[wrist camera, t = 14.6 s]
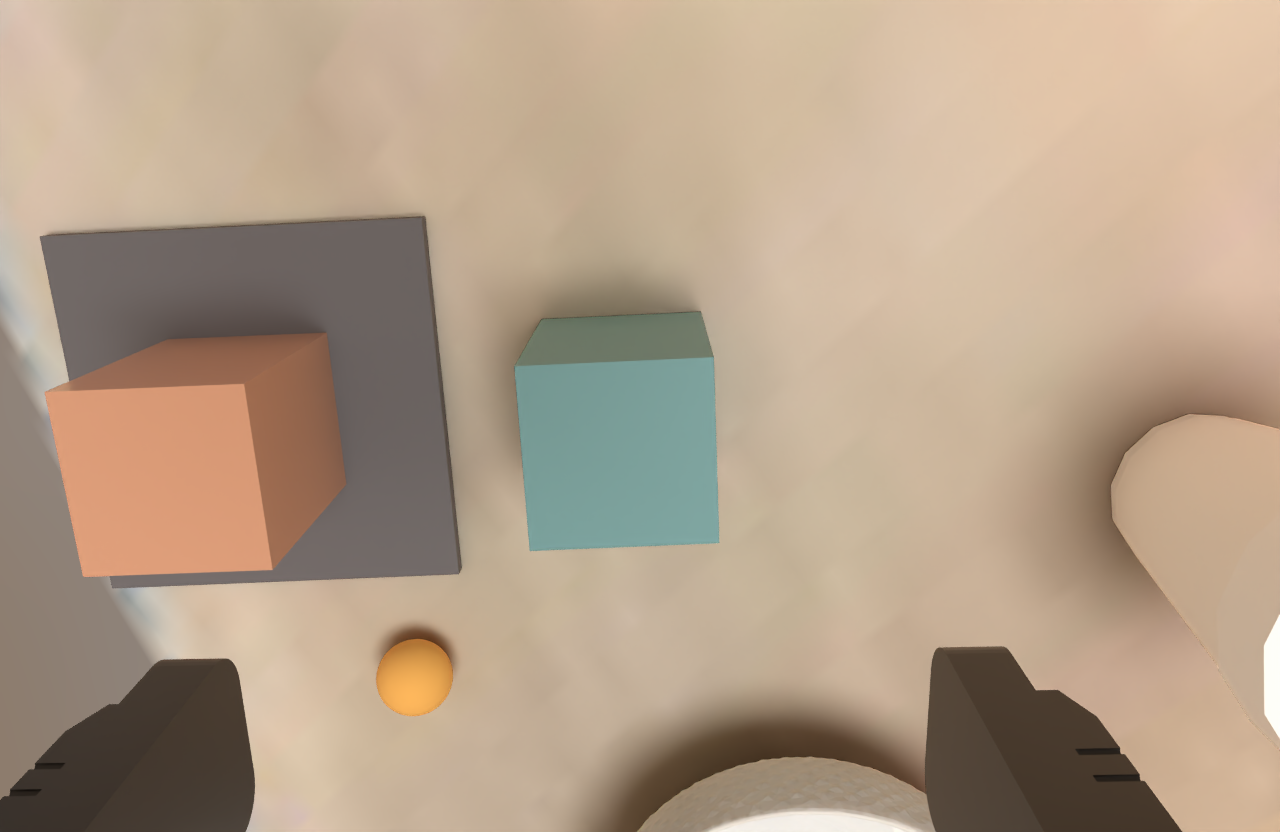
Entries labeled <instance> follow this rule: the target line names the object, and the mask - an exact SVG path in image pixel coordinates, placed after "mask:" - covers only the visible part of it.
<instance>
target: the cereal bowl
mask: <svg viewBox="0 0 1280 832" xmlns="http://www.w3.org/2000/svg"><path fill="white" fill-rule="evenodd" d="M637 832H936V831H935V828H934V826H933V823H932V819H931V816H930V811H929V807H928V801H927V795H926V794H925V793H924V792H921V791H919V790H917V789H916V788H915V787H913V786H912V785H910V784H907V783H906V782H904V781H900V780H898V779H897V778H895V777H893V776H892V775H889V774H885V773H882V772H880V771H879V770H876V769H872V768H870V767H865V766H861V765H858V764H855V763H850V762H847V761H839V760H836V759H826V758H815V757H811V756H810V757H805V758H802V757H793V758H790V757H783V758H780V759H769V760H760V761H758V762H754V763H747V764H745V765H738V766H736V767H734V768H732V769H727V770H724V771H722V772H720V773H715V774H714V775H712V776H711V777H708V778H705V779H703V780H701V781H699V782H695V783H694V784H693V785H692V786H691V787H689V788H688V789H685V790H682V791H681V792H680V793H679V794H678V795H676V796H674V797H673V798H672V799H671V800H669V801H668V802H666V803H664V804H663V806H662V807H660V808H659V809H658V810H657V812H655V813H654V814H652V815H650V817H649V819H647V820H646V821H645V822H644V824H643V825H642V826H641V828H640V829H639V830H638V831H637Z"/></svg>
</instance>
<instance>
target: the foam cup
mask: <svg viewBox="0 0 1280 832" xmlns="http://www.w3.org/2000/svg"><path fill="white" fill-rule="evenodd" d="M1111 505H1112V520H1113V521H1114V523H1115V525H1116V526H1117V528H1118V529H1119V531H1120V533H1121V534H1122V536H1123V537H1124V539H1125V540H1126V542H1127V544H1128V545H1129V547H1130V548H1131V549H1132V551H1133V553H1134V554H1135V556H1136V557H1137V558H1138V560H1139V561H1140V562H1141V564H1142V565H1143V566H1144V568H1145V569H1146V570H1147V572H1148V573H1149V574H1150V576H1151V577H1152V578H1153V580H1154V581H1155V582H1156V584H1157V585H1158V587H1159V588H1160V589H1161V591H1162V592H1163V593H1164V595H1165V596H1166V597H1167V599H1168V600H1169V601H1170V603H1171V604H1172V605H1173V607H1174V608H1175V609H1176V611H1177V612H1178V613H1179V615H1180V616H1181V618H1182V619H1183V620H1184V622H1185V623H1186V624H1187V626H1188V627H1189V628H1190V630H1191V631H1192V632H1193V634H1194V635H1195V636H1196V638H1197V639H1198V640H1199V642H1200V643H1201V644H1202V646H1203V647H1204V649H1205V650H1206V651H1207V653H1208V654H1209V655H1210V657H1211V658H1212V659H1213V661H1214V662H1215V663H1216V665H1217V666H1218V671H1219V672H1220V674H1221V676H1222V677H1223V679H1224V680H1225V682H1226V684H1227V685H1228V687H1229V688H1230V690H1231V691H1232V693H1233V695H1234V696H1235V698H1236V699H1237V701H1238V703H1239V704H1240V706H1241V707H1242V709H1243V711H1244V712H1245V714H1246V715H1247V717H1248V719H1249V720H1250V722H1251V723H1252V724H1253V725H1254V726H1255V727H1256V728H1257V729H1258V730H1259V731H1260V732H1261V733H1262V734H1263V735H1264V736H1265V737H1267V738H1268V739H1269V740H1270V741H1271V742H1272V743H1273V744H1274V745H1275V746H1276V747H1277V748H1278V749H1279V750H1280V429H1277V428H1273V427H1269V426H1265V425H1261V424H1257V423H1254V422H1250V421H1246V420H1242V419H1238V418H1229V417H1227V416H1219V415H1200V414H1187V415H1185V416H1182V417H1179V418H1177V419H1174V420H1171V421H1169V422H1166V423H1163V424H1161V425H1158V426H1155V427H1153V428H1152V429H1151V430H1149V431H1148V432H1147V433H1146V434H1145V435H1144V436H1143V437H1142V438H1141V439H1140V440H1139V441H1138V442H1137V443H1136V444H1134V445H1133V446H1132V447H1131V448H1130V449H1129V450H1128V451H1127V452H1126V453H1125V454H1124V457H1123V459H1122V461H1121V463H1120V466H1119V468H1118V470H1117V473H1116V475H1115V477H1114V480H1113V482H1112V484H1111Z"/></svg>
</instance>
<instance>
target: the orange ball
mask: <svg viewBox="0 0 1280 832" xmlns="http://www.w3.org/2000/svg"><path fill="white" fill-rule="evenodd" d="M452 681H453V670H452V665H451V662H450V660H449V658H448V656H447V655H446V653H445V652H444V651H443V650H442V649H441V648H440V647H439V646H438V645H436V644H434V643H433V642H430V641H427V640H423V639H411V640H406V641H403V642H401V643H399V644H397V645H395V646H394V647H392V648H391V649H390V650H389V651H388V652H387V653H386V654H385V655H384V657H383V658H382V660H381V662H380V664H379V667H378V670H377V677H376V683H377V689H378V692H379V695H380V697H381V699H382V700H383V702H384V703H385V704H386V705H387V706H388V707H389V708H390V709H392V710H393V711H395V712H397V713H399V714H402V715H406V716H419V715H423V714H426V713H429V712H431V711H433V710H434V709H436V708H437V707H438V706H439V705H441V703H442V702H443V701H444V700H445V699H446V697H447V695H448V694H449V691H450V689H451V686H452Z"/></svg>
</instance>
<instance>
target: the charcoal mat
mask: <svg viewBox="0 0 1280 832" xmlns="http://www.w3.org/2000/svg"><path fill="white" fill-rule="evenodd" d="M40 240H41V245H42V250H43V255H44V260H45V264H46V269H47V274H48V279H49V284H50V289H51V294H52V298H53V303H54V308H55V313H56V318H57V323H58V327H59V332H60V337H61V342H62V347H63V352H64V357H65V361H66V366H67V371H68V376H69V381H71V380H74V379H76V378H78V377H81V376H83V375H85V374H88V373H90V372H92V371H95V370H97V369H99V368H102V367H104V366H106V365H109V364H111V363H113V362H116V361H118V360H120V359H123V358H125V357H127V356H130V355H132V354H134V353H137V352H139V351H141V350H144V349H146V348H148V347H151V346H153V345H155V344H158V343H160V342H162V341H165V340H167V339H185V338H209V337H233V336H257V335H281V334H305V333H327V338H328V346H329V353H330V361H331V369H332V377H333V384H334V392H335V400H336V408H337V415H338V423H339V431H340V439H341V446H342V454H343V462H344V470H345V477H346V485H345V487H344V488H343V489H342V490H341V491H340V492H339V494H338V495H337V496H336V497H335V498H334V499H333V501H332V502H331V503H330V504H329V505H328V506H327V507H326V509H325V510H324V511H323V512H322V513H321V514H320V516H319V517H318V518H317V519H316V520H315V521H314V523H313V524H312V525H311V526H310V527H309V528H308V529H307V531H306V532H305V533H304V534H303V535H302V536H301V538H300V539H299V540H298V541H297V542H296V543H295V545H294V546H293V547H292V548H291V549H290V550H289V551H288V553H287V554H286V555H285V556H284V557H283V558H282V560H281V561H280V562H279V563H278V564H277V565H276V567H275V568H274V569H273V570H258V571H231V572H204V573H176V574H149V575H122V576H110V580H111V585H112V588H134V587H158V586H182V585H207V584H231V583H256V582H280V581H304V580H329V579H353V578H377V577H402V576H426V575H451V574H459V573H460V570H461V568H462V567H461V558H460V548H459V538H458V529H457V519H456V510H455V500H454V490H453V481H452V471H451V462H450V452H449V442H448V433H447V423H446V414H445V404H444V394H443V385H442V375H441V366H440V356H439V346H438V337H437V327H436V318H435V308H434V298H433V289H432V279H431V270H430V260H429V251H428V241H427V231H426V222H425V217H407V218H386V219H366V220H345V221H325V222H305V223H284V224H264V225H243V226H223V227H202V228H182V229H162V230H141V231H121V232H100V233H80V234H59V235H46V236H40Z"/></svg>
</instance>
